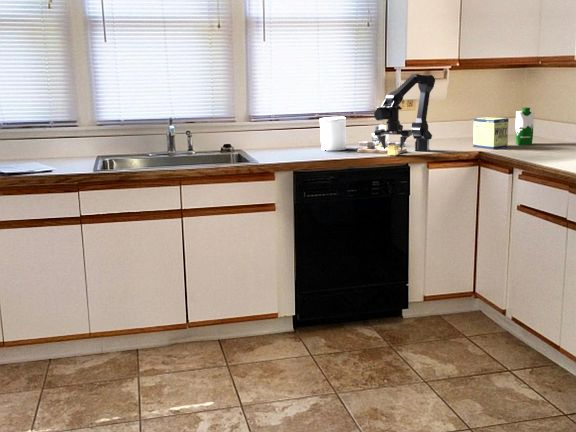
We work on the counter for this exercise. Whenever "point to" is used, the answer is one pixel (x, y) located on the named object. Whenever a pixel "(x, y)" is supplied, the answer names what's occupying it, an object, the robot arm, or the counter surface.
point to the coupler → (393, 150)
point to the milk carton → (524, 126)
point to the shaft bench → (372, 149)
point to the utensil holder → (333, 133)
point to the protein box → (490, 133)
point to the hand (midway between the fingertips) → (393, 149)
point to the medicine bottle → (376, 139)
